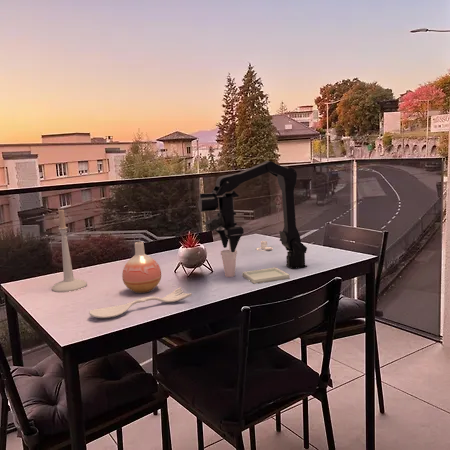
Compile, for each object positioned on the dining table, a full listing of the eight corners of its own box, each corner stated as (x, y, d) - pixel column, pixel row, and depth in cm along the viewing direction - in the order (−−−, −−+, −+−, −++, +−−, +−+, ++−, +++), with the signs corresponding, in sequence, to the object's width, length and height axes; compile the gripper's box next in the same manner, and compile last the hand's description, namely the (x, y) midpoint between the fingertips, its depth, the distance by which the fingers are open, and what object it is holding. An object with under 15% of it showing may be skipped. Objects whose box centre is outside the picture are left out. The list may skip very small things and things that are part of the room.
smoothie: (236, 278, 175) (234, 241, 173) (220, 277, 177) (218, 241, 174) (239, 273, 181) (237, 238, 179) (223, 273, 183) (221, 238, 181)
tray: (275, 271, 182) (275, 267, 181) (289, 278, 170) (289, 274, 170) (242, 276, 177) (242, 272, 177) (254, 284, 166) (254, 279, 166)
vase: (117, 291, 167) (112, 243, 165) (151, 283, 175) (147, 237, 172) (134, 299, 156) (129, 248, 154) (169, 290, 164) (165, 241, 161)
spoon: (193, 302, 151) (192, 292, 150) (94, 325, 135) (93, 314, 135) (181, 295, 158) (180, 286, 158) (86, 316, 143) (85, 306, 142)
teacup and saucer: (273, 251, 218) (273, 243, 217) (256, 252, 218) (256, 244, 218) (272, 247, 227) (271, 239, 226) (255, 248, 227) (255, 240, 226)
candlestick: (49, 286, 178) (39, 209, 174) (82, 280, 185) (74, 205, 180) (55, 294, 167) (45, 212, 163) (91, 287, 174) (82, 208, 169)
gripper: (199, 209, 181) (202, 248, 184) (213, 214, 164) (216, 257, 166) (226, 206, 185) (228, 244, 187) (242, 211, 167) (245, 253, 170)
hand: (228, 249), depth 177 cm, fingers open, 9 cm apart
